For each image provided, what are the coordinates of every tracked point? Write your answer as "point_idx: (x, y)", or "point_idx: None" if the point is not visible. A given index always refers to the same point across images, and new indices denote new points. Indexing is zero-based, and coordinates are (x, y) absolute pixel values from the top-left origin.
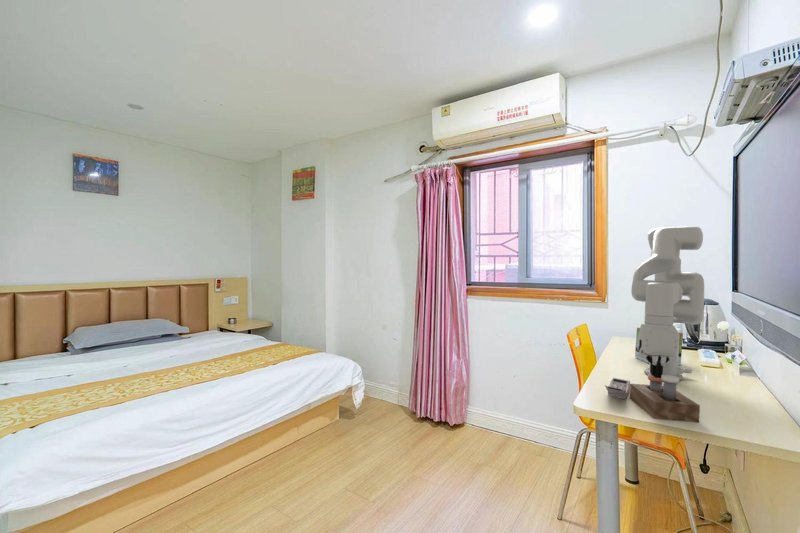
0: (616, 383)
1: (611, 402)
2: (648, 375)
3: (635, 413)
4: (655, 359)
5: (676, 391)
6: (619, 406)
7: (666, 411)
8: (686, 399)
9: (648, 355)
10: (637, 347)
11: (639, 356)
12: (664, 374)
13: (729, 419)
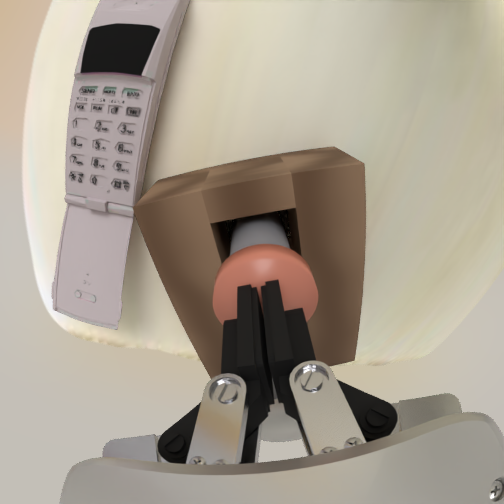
0: (97, 86)
1: None
2: (213, 304)
3: (170, 323)
4: (249, 457)
5: (359, 248)
6: (124, 288)
7: None
8: (343, 331)
9: (194, 455)
10: (67, 497)
11: (118, 452)
12: (275, 418)
13: (436, 264)
